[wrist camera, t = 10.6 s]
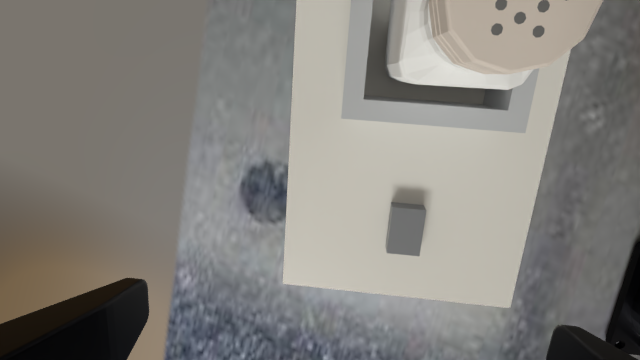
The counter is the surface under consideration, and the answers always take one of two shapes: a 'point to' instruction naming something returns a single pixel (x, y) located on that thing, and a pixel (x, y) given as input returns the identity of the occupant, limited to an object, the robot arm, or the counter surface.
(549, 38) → the pepper shaker
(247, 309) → the counter surface
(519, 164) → the outlet plate
